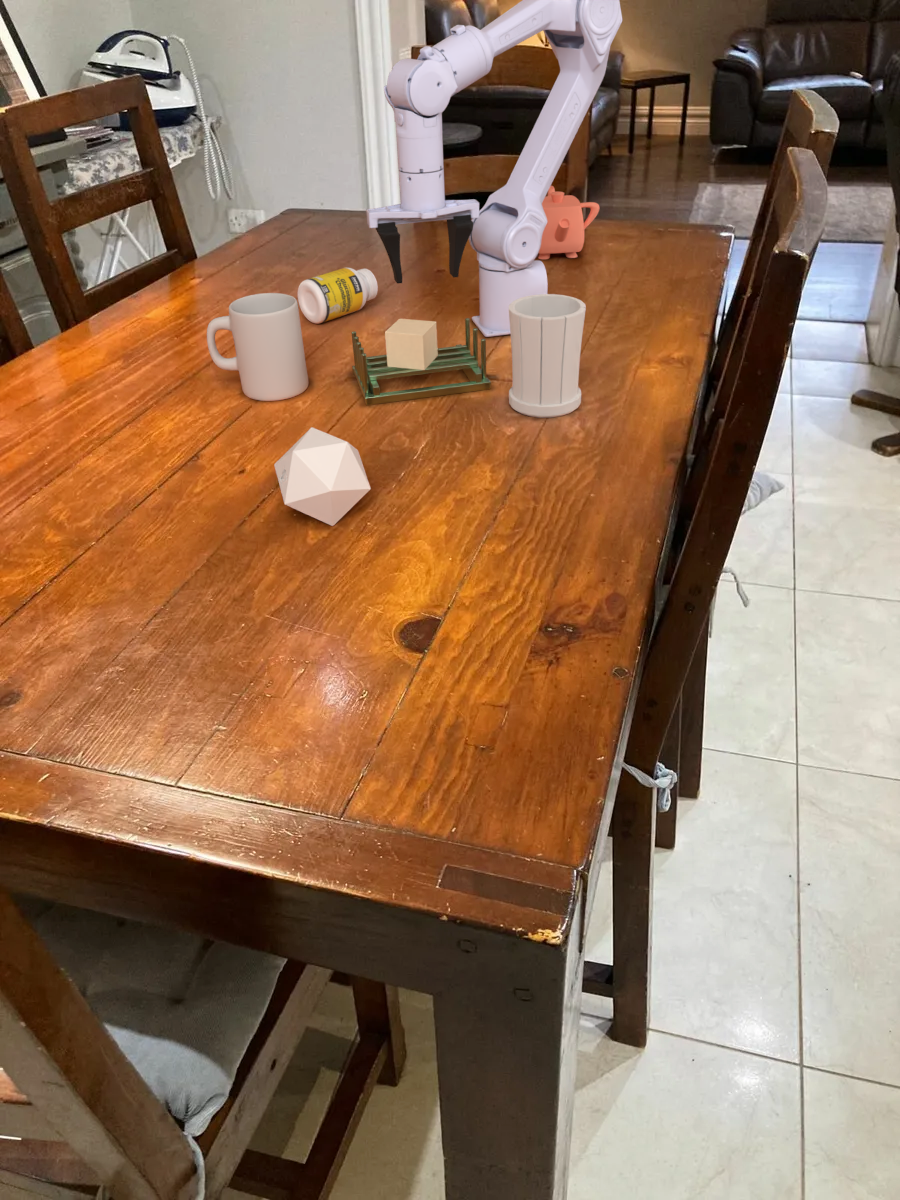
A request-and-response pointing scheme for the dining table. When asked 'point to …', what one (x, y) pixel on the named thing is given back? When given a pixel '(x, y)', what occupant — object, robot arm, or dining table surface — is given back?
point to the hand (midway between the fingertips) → (426, 278)
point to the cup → (546, 354)
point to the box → (411, 344)
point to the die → (322, 476)
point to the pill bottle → (336, 293)
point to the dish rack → (422, 371)
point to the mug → (264, 346)
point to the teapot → (564, 224)
